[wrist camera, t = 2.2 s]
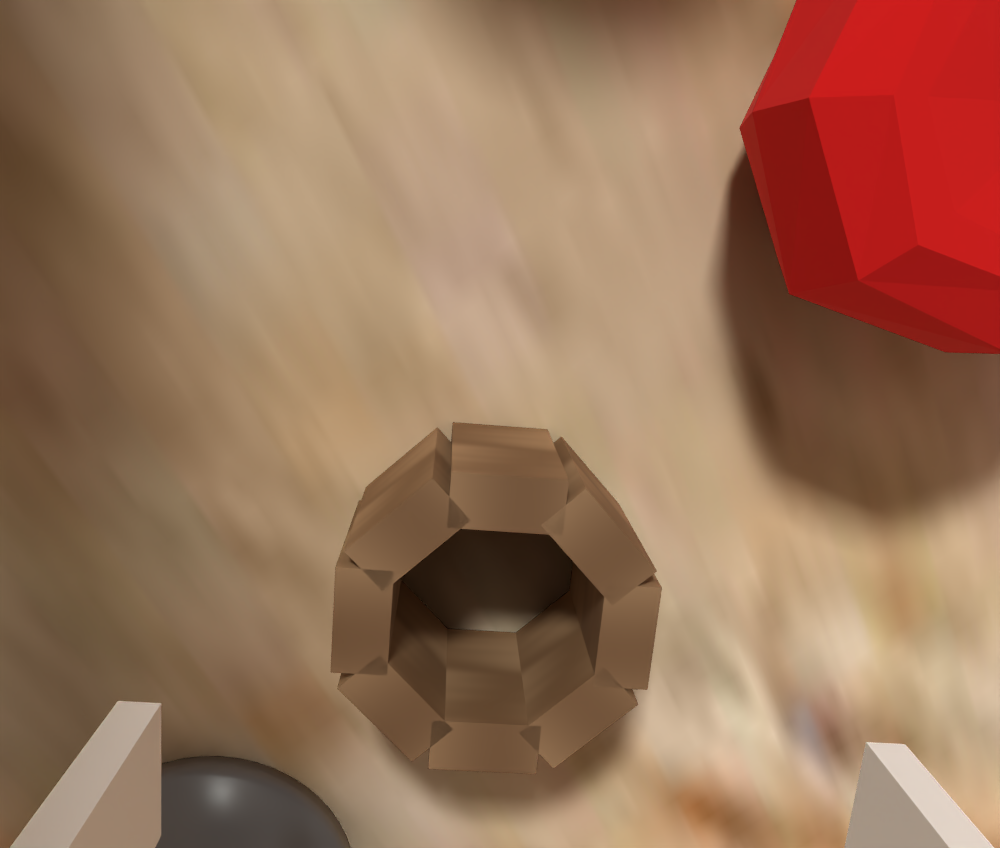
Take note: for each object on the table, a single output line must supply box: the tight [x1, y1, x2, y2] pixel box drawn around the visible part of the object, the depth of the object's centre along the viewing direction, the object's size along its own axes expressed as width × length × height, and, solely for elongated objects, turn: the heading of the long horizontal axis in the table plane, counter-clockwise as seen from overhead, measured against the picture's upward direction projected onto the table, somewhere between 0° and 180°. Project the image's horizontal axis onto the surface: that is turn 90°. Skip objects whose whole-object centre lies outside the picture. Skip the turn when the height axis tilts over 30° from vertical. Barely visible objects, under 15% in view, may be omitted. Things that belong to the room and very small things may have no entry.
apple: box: [740, 0, 1000, 354], centre depth 19 cm, size 11×11×10 cm
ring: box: [331, 422, 662, 774], centre depth 23 cm, size 8×8×5 cm
